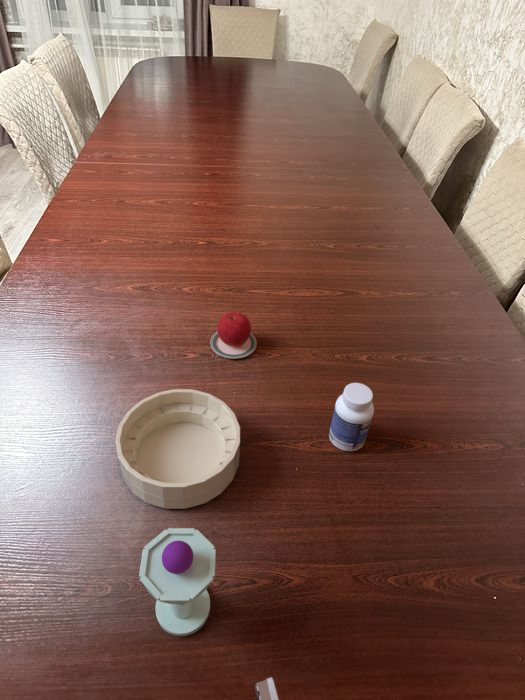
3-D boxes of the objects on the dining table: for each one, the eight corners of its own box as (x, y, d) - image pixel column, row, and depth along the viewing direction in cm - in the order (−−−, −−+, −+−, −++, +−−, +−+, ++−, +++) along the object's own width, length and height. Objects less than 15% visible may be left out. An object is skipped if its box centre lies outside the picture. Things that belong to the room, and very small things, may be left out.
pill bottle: (360, 457, 75) (374, 413, 68) (324, 445, 76) (334, 400, 69) (368, 430, 78) (381, 385, 72) (333, 419, 80) (344, 374, 73)
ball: (161, 579, 50) (158, 566, 48) (164, 548, 52) (162, 534, 50) (192, 579, 50) (191, 566, 48) (194, 548, 52) (194, 535, 50)
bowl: (111, 510, 66) (104, 486, 62) (131, 413, 78) (126, 387, 74) (238, 511, 67) (239, 487, 63) (239, 414, 79) (240, 390, 75)
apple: (202, 352, 89) (201, 322, 84) (222, 325, 94) (222, 296, 90) (245, 366, 87) (246, 336, 83) (263, 337, 93) (265, 308, 88)
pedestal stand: (146, 643, 55) (135, 600, 48) (154, 575, 60) (145, 527, 53) (214, 642, 56) (213, 600, 48) (216, 575, 61) (216, 528, 54)
